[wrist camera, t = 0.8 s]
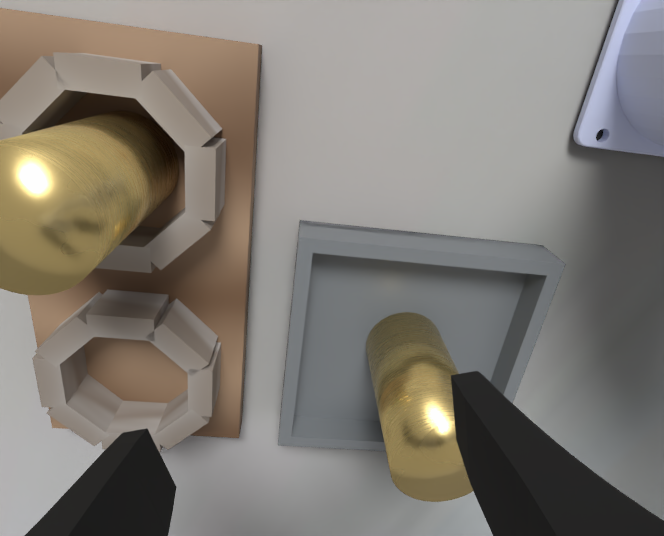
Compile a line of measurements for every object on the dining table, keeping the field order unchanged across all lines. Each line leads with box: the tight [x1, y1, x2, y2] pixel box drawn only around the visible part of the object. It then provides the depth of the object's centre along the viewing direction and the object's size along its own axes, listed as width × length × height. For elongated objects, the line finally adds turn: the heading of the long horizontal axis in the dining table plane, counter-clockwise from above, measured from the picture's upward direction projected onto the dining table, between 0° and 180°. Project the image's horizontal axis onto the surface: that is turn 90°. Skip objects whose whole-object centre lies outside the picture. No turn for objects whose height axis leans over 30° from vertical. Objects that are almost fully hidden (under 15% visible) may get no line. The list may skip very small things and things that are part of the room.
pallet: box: [0, 8, 262, 452], centre depth 18 cm, size 18×9×3 cm, turn 173°
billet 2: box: [366, 312, 473, 502], centre depth 18 cm, size 4×4×7 cm
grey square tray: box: [278, 220, 565, 451], centre depth 21 cm, size 11×11×2 cm
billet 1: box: [0, 111, 179, 295], centre depth 13 cm, size 4×4×7 cm
